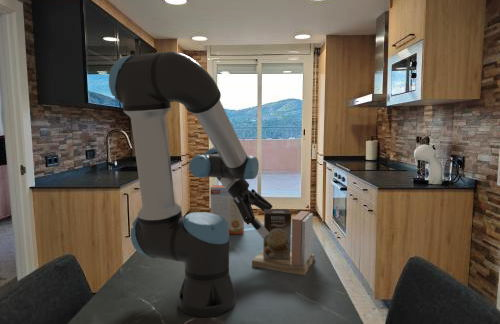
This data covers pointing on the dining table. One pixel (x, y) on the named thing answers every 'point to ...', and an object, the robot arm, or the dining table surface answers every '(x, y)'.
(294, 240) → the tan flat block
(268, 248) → the coffee box
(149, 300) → the dining table surface
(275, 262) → the shelf board
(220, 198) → the cracker box
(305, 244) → the bookend
